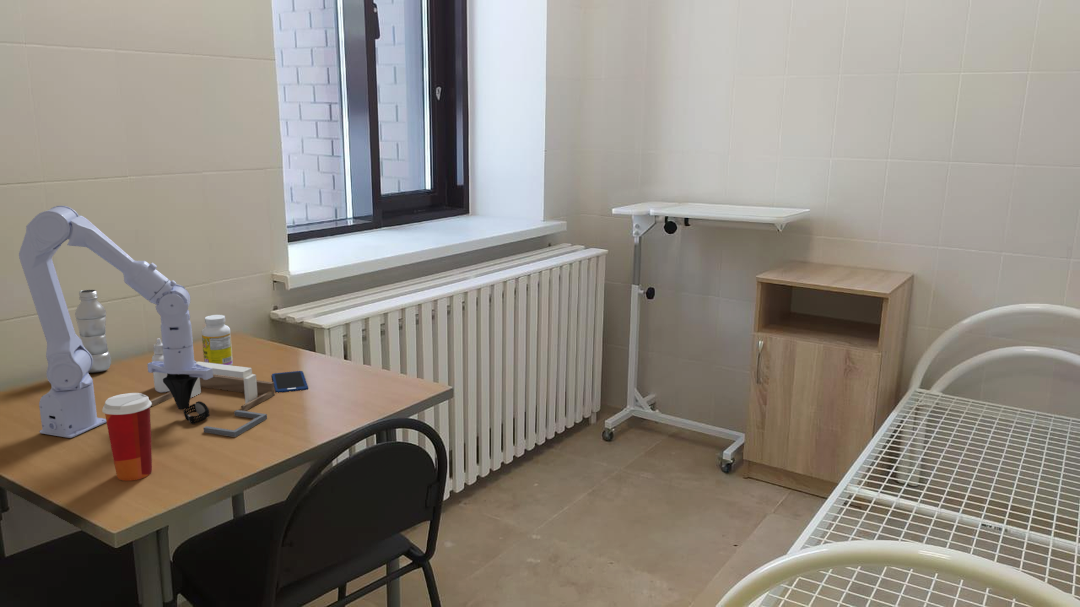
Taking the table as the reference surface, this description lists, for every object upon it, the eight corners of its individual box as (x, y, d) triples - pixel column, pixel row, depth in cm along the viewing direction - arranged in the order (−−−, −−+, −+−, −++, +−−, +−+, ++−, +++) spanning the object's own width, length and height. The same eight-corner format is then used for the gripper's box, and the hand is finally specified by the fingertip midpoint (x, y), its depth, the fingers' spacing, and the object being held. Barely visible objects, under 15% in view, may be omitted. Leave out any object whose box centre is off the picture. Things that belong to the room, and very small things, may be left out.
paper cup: (145, 461, 150) (138, 388, 147) (166, 473, 145) (159, 398, 142) (101, 475, 144) (92, 400, 141) (121, 488, 139) (112, 410, 136)
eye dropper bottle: (177, 384, 191) (172, 335, 188) (169, 392, 185) (164, 342, 182) (157, 385, 190) (152, 335, 187) (149, 393, 185) (144, 342, 182)
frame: (235, 437, 161) (234, 432, 161) (203, 432, 163) (203, 427, 163) (267, 418, 171) (266, 414, 171) (237, 414, 173) (236, 409, 173)
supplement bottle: (205, 363, 206) (201, 314, 203) (233, 361, 208) (230, 312, 205) (203, 371, 200) (199, 321, 197) (232, 369, 202) (228, 319, 199)
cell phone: (275, 394, 186) (275, 391, 186) (271, 376, 199) (271, 373, 199) (308, 391, 189) (308, 388, 189) (302, 373, 202) (302, 370, 201)
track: (212, 428, 165) (211, 414, 165) (128, 415, 171) (127, 402, 171) (274, 395, 185) (273, 382, 184) (197, 384, 191) (196, 372, 190)
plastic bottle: (82, 369, 201) (72, 289, 196) (113, 366, 203) (104, 287, 199) (80, 377, 195) (70, 295, 190) (111, 373, 198) (103, 292, 193)
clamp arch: (249, 405, 178) (247, 372, 176) (188, 397, 183) (185, 364, 181) (257, 401, 181) (255, 368, 179) (197, 392, 185) (194, 360, 184)
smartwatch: (193, 418, 173) (214, 420, 171) (176, 423, 168) (197, 425, 166) (194, 398, 172) (214, 401, 171) (176, 403, 167) (197, 405, 166)
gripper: (220, 343, 169) (225, 405, 172) (162, 336, 173) (168, 397, 176) (197, 352, 162) (202, 417, 166) (137, 345, 166) (144, 408, 170)
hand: (183, 408), depth 170 cm, fingers closed
